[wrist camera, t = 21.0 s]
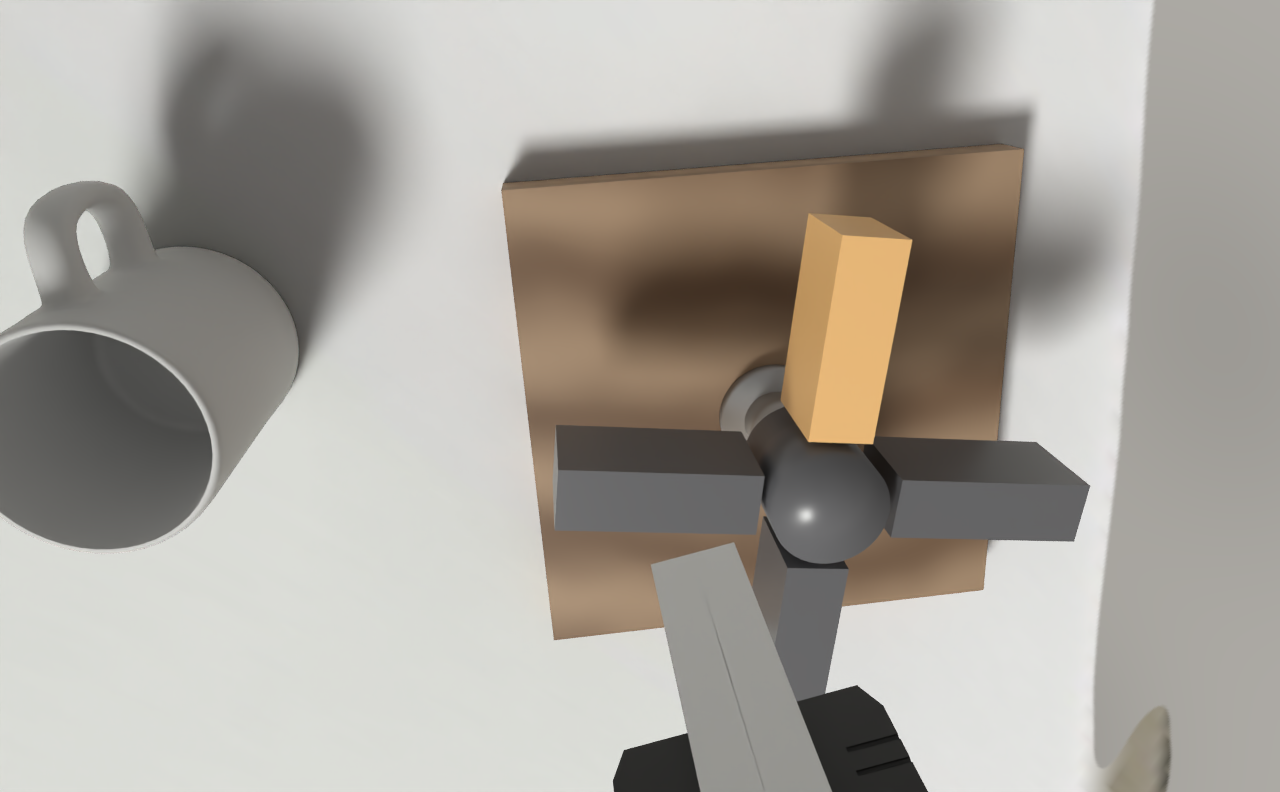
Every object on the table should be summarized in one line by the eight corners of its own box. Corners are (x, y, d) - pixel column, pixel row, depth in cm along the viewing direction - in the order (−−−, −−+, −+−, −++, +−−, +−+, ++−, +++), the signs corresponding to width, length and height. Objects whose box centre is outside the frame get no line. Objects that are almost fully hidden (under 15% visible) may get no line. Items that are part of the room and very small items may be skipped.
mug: (323, 413, 42) (255, 534, 32) (134, 444, 41) (4, 578, 31) (244, 145, 37) (136, 186, 27) (32, 177, 37) (-160, 232, 27)
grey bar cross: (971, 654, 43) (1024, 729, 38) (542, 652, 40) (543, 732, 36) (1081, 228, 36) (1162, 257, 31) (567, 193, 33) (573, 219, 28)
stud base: (502, 182, 39) (497, 207, 33) (1001, 143, 41) (1075, 161, 35) (553, 616, 47) (555, 694, 42) (966, 568, 49) (1021, 637, 43)
